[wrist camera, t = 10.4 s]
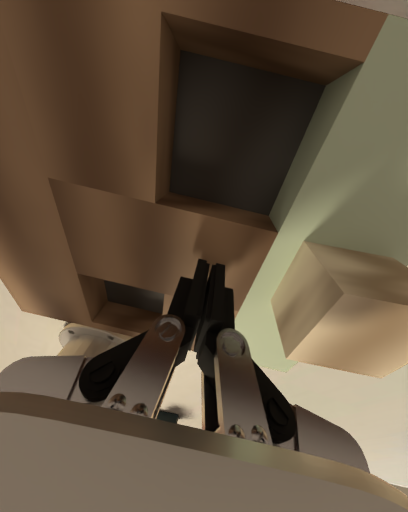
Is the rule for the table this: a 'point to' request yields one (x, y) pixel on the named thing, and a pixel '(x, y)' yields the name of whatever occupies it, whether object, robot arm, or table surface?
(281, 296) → the maple block
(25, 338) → the table surface
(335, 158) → the pad
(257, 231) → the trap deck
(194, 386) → the table surface
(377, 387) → the table surface
